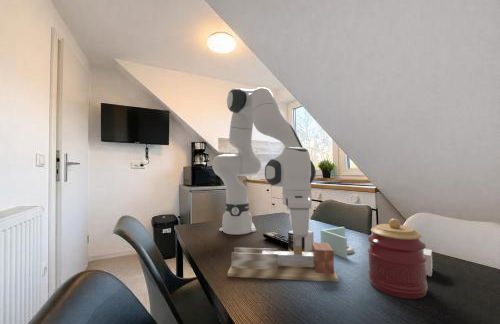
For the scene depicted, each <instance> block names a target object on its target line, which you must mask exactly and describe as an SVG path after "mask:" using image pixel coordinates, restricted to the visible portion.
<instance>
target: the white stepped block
mask: <svg viewBox="0 0 500 324" xmlns="http://www.w3.org/2000/svg"><path fill="white" fill-rule="evenodd" d="M293 247H294V252H292V251H289V250H286V251H285V250H283V251H282V250H277V251H262V253H264V254H278V266H301V267H315V254H314V252H312V251H311V252H302V239H301V246H296V245H295V237H294V235H293Z"/></svg>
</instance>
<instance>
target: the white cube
mask: <svg viewBox="0 0 500 324" xmlns="http://www.w3.org/2000/svg"><path fill="white" fill-rule="evenodd" d="M423 252H424V256H425V257H426V276H427V275H428V277H432V275H433V270H432V269H433V250H432V249H429V248H428V249H427V248H425V249H424V250H423Z"/></svg>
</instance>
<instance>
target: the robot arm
mask: <svg viewBox="0 0 500 324" xmlns="http://www.w3.org/2000/svg"><path fill="white" fill-rule="evenodd" d="M226 104H227V108H228V110H229V112H232V115H231V119H230V124H229V135H228V141H229V144H230V145H231V146H232V147H234V148H235V149H237V154H234V153H233V154H232V153H230V154H228V153H225V154H219V155H218V154H217V155H216V156H214V158H213V160H212V163H211V167H212V171H213V172H214V174H215V175H216V176H218V177H219V178H220V179H221V180H222V182H223V185H224V186H225V193H226V194H225V195H226V197H225V198H226V203H225V212H224V213H223V214H222V224H221V225H222V227H220V228H219V231H220V232H222V231H223V232H222V233H224V234H226V235H247V234H250V233H255V232H257V228H256V226H255V224H254V221H253V219H252V216H253V215H252V214H251V213H250V203H249V189H248V187H247V185H246V184H244V183H243V182H241V181H239V178H238V176H239V177H240V176H244V177H245V176H247V177H248V176H252V175H253V176H254V175H257V174H258V173H259V172H260V171H261V167H262V164H261V159H260V158H259V157H258V156H257V155H256V153H254V150H253V147H252V138H253V129H254V128H253V127H255V129H256V130H257V132H259V133H260V134H262V135H265V136H268V137H269V138H273V139H275V140H277V141H278V142H279V141H280V142H281V143H282V144H283V145H284V148H283V150H282V152H281V153H280V154H279V155H278V156H277V157H274V158H273V159H270V160H268V162H267V163H266V165H265V167H264V178H265V180H266V181H267V183H268V184H269V185H271V186H272V187H273V186H274V187H282V192H281V193H282V205H285V206H286V210H287V211H289V223H290V227H291V231H293V235H294V237H295V245H296V246H301V239H302V237H307V234H308V231H309V230H308V225H309V226H310V224H309V223H310V209H312V204H313V203H312V201H313V200H312V199H313V198H312V197H313V195H312V194H313V193H312V185H311V184H312V182H313V181H314V180H315V178H316V174H317V170H316V166H315V164H314V163H313V161H312V160H311V156H310V155H311V154H310V152H309V149H307V148H305V147H303V144H302V143H301V141H300V139H299V137H298V135H297V132H296V131H295V129H294V127H293V126H292V125H291V124H290V123H289V122H288V121H287V120H286V119H285V117H284V116H283V114H282V112H281V111H280V109H279V106H278V103H277V101H276V98H275V96H274V94H273V93H272V91H271V90H270V89H269V88H267V87H257V88H255V89H249V88H248V89H247V88H240V87H239V88H238V87H236V88H232V89H230V90H229V92H228V94H227V98H226ZM219 231H218V232H219Z"/></svg>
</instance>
